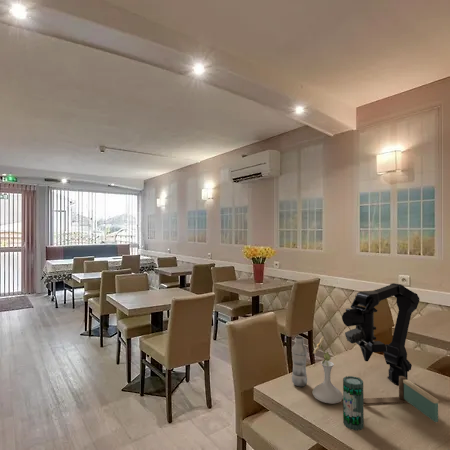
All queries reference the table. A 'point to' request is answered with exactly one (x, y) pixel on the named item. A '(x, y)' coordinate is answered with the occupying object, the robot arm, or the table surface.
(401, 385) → the gate frame
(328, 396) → the flower in vase
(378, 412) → the table surface
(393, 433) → the table surface
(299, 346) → the plastic bottle
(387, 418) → the table surface
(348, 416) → the can
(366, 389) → the table surface
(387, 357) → the robot arm
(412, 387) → the panel
